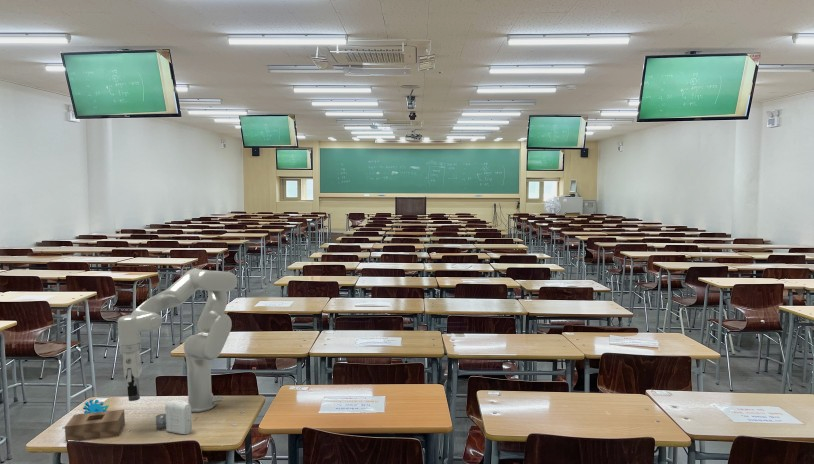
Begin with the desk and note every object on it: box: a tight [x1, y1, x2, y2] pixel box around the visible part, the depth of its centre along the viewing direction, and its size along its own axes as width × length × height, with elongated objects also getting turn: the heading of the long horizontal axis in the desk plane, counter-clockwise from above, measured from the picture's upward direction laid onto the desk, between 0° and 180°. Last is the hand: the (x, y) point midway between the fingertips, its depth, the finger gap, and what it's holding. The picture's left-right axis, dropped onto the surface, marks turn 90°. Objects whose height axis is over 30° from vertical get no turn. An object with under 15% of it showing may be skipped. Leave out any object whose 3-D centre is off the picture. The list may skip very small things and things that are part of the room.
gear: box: [82, 399, 110, 414], centre depth 237 cm, size 11×6×10 cm
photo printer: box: [165, 399, 193, 435], centre depth 222 cm, size 10×4×12 cm, turn 69°
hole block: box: [64, 408, 126, 442], centre depth 222 cm, size 18×12×6 cm, turn 106°
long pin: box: [127, 376, 141, 402], centre depth 223 cm, size 4×4×10 cm
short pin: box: [155, 413, 166, 431], centre depth 226 cm, size 4×4×5 cm
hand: (133, 393), depth 223 cm, fingers closed on long pin, 4 cm apart
